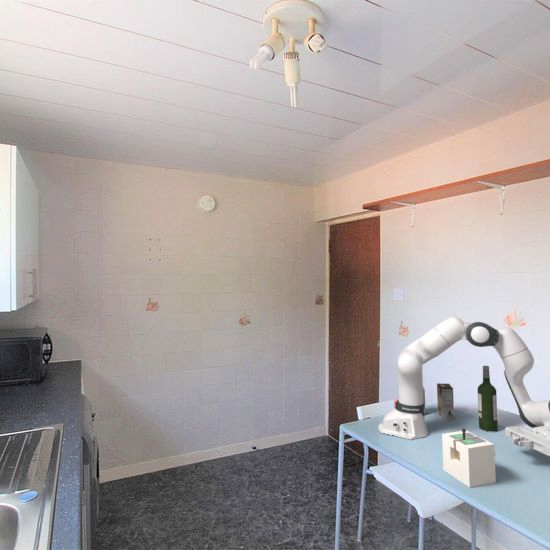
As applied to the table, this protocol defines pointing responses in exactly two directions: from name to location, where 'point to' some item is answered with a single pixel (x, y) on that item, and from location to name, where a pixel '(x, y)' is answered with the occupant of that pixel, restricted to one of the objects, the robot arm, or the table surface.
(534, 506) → the table surface
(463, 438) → the peg
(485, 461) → the tuner housing
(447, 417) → the coffee box
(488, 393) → the wine bottle
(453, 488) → the table surface
